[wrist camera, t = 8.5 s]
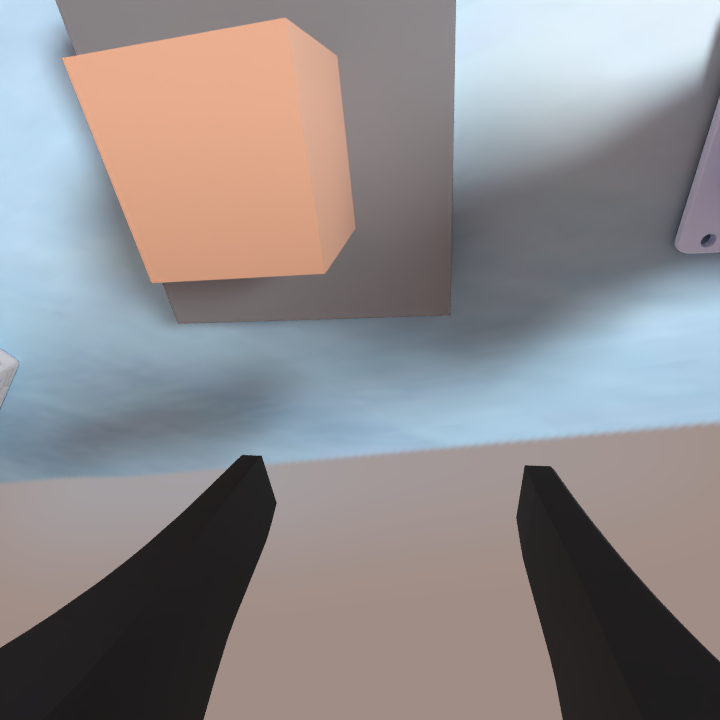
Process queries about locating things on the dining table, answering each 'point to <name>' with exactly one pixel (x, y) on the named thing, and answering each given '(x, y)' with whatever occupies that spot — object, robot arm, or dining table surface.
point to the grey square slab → (364, 146)
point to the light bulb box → (6, 373)
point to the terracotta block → (224, 150)
